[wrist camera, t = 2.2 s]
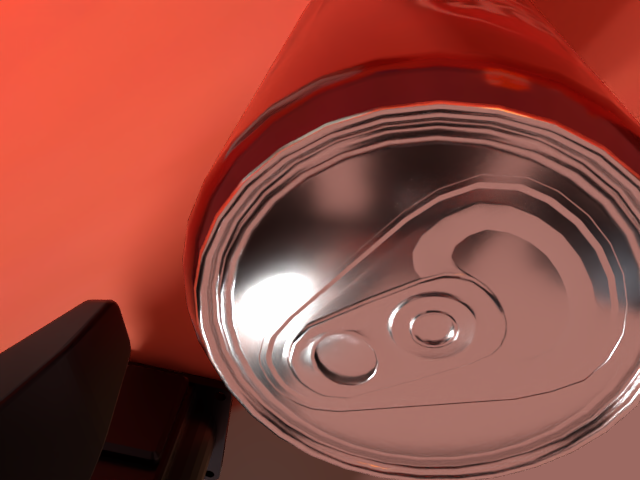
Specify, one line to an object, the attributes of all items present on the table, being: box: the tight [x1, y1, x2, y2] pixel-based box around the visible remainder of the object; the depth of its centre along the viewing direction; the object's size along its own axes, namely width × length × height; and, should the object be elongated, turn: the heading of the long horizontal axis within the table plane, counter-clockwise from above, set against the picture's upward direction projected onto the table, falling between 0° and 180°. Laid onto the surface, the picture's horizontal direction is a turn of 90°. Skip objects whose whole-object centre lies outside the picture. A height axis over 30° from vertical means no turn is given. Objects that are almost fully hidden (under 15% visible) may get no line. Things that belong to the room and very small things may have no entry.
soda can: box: [182, 0, 640, 480], centre depth 13 cm, size 7×7×12 cm
